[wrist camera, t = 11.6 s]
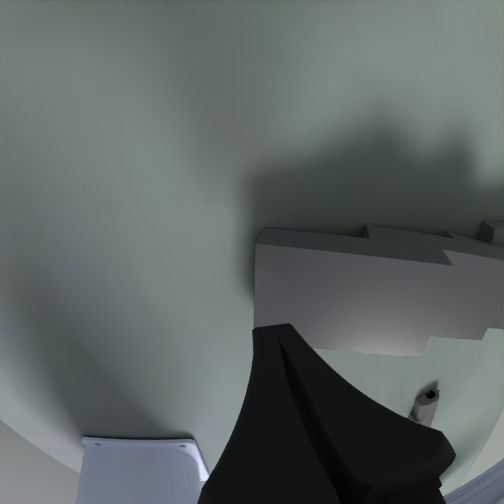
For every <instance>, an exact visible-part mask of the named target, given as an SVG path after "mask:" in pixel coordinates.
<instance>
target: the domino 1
mask: <svg viewBox="0 0 504 504" xmlns="http://www.w3.org/2000/svg"><path fill="white" fill-rule="evenodd" d="M452 269H453V264H452V263H451V261H450V260H449V259H448V257H447V256H446V254H445V253H444V251H443V250H442V248H441V247H434V246H426V245H418V244H410V243H402V242H394V241H386V240H377V239H369V238H360V237H352V236H343V235H334V234H324V233H315V232H305V231H296V230H286V229H276V228H265V227H264V229H263V231H262V233H261V234H260V236H259V238H258V240H257V241H256V243H255V289H254V328H255V327H263V326H271V325H278V324H285V323H290V324H292V325H293V327H294V328H295V329H296V330H297V332H298V333H299V334H300V335H301V336H302V338H303V339H304V340H305V341H306V342H307V343H308V344H309V346H310V347H311V348H319V349H327V350H337V351H346V352H357V353H368V354H381V355H395V356H412V357H421V355H422V353H423V350H424V348H425V346H426V343H427V341H428V338H429V336H430V333H431V331H432V328H433V326H434V323H435V320H436V318H437V315H438V312H439V309H440V306H441V304H442V301H443V298H444V295H445V292H446V288H447V285H448V282H449V279H450V276H451V272H452Z"/></svg>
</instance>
